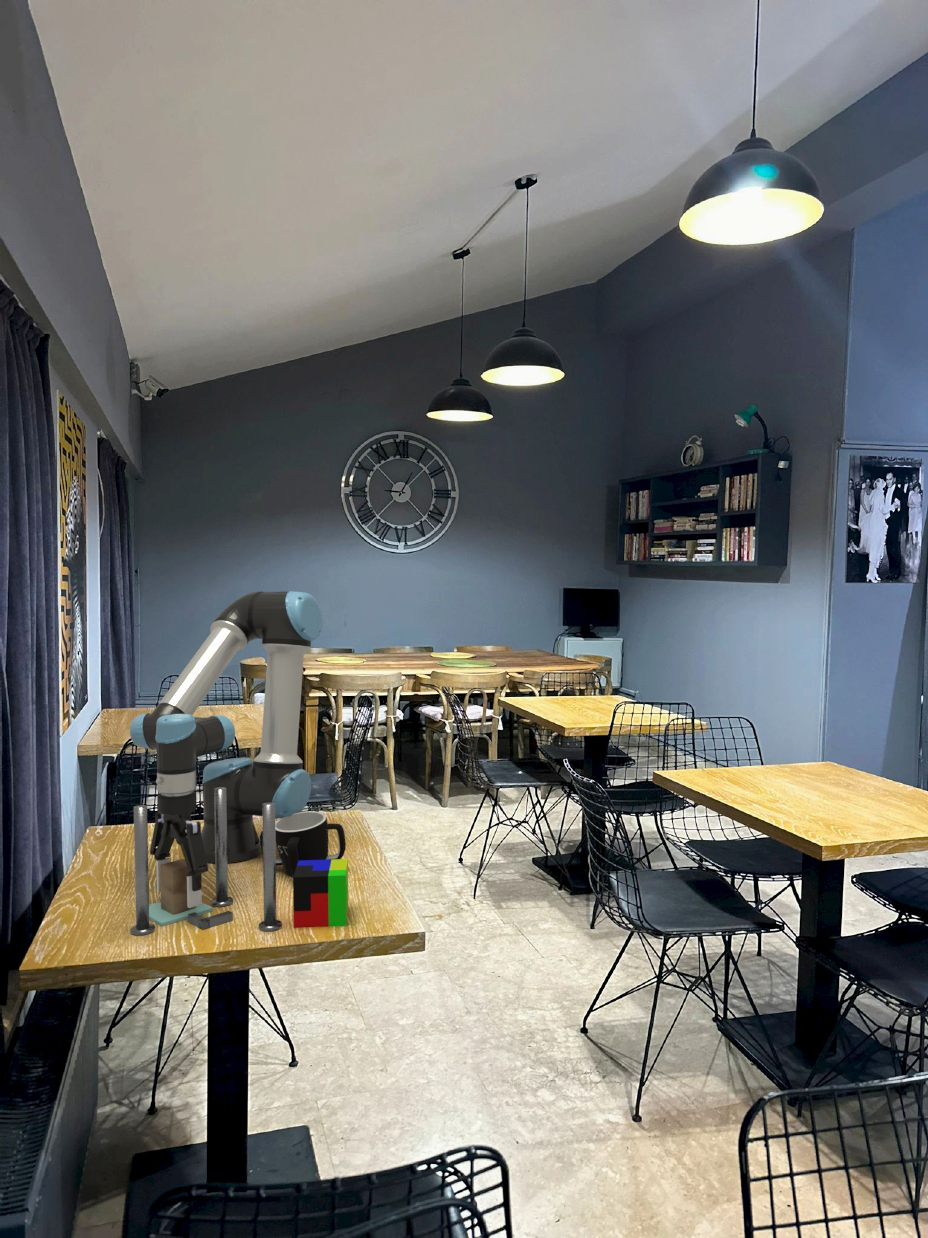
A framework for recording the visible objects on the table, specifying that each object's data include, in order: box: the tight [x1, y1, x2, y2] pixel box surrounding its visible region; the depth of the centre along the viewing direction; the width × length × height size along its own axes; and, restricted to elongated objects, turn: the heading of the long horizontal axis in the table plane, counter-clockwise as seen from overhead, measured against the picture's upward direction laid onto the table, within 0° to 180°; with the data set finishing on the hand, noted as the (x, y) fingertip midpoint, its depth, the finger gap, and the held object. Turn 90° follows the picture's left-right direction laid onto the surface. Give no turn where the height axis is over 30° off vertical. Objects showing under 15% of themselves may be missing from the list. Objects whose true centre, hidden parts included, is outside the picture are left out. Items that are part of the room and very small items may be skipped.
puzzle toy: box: [292, 858, 350, 929], centre depth 172 cm, size 10×10×10 cm
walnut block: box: [160, 858, 196, 915], centre depth 175 cm, size 5×5×9 cm
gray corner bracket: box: [187, 910, 234, 930], centre depth 171 cm, size 6×6×2 cm
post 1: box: [130, 804, 156, 937], centre depth 165 cm, size 4×4×24 cm
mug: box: [259, 810, 347, 877], centre depth 199 cm, size 16×16×12 cm
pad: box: [149, 901, 214, 927], centre depth 176 cm, size 11×11×1 cm
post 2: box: [210, 787, 234, 908], centre depth 180 cm, size 4×4×24 cm
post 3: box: [258, 803, 283, 933], centre depth 167 cm, size 4×4×24 cm
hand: (178, 898), depth 176 cm, fingers open, 11 cm apart
